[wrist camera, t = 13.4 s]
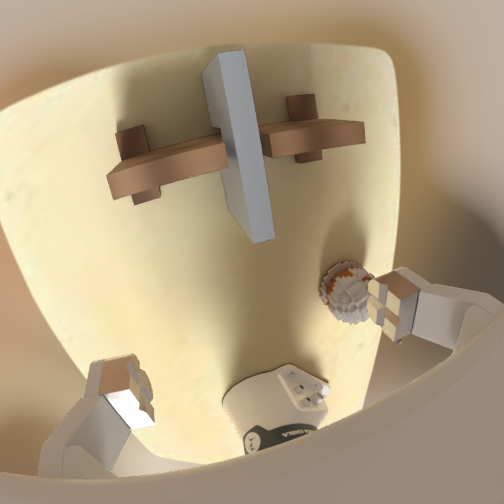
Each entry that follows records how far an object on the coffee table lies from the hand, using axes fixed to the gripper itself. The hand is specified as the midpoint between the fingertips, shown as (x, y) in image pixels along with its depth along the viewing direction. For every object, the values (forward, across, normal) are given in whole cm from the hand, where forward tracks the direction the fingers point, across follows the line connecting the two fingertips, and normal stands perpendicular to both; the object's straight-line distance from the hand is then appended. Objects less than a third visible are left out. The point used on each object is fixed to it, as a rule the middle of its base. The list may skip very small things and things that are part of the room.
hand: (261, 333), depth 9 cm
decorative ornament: (+27, +18, -19) cm, 37 cm away
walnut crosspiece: (+25, +4, +4) cm, 26 cm away
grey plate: (+25, +4, +4) cm, 26 cm away
